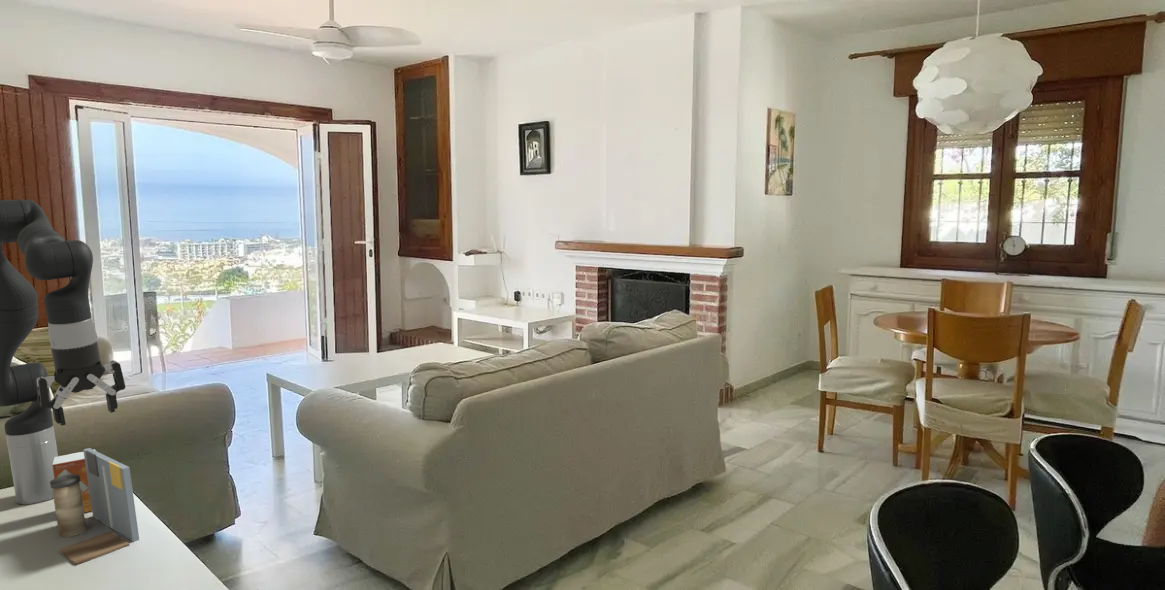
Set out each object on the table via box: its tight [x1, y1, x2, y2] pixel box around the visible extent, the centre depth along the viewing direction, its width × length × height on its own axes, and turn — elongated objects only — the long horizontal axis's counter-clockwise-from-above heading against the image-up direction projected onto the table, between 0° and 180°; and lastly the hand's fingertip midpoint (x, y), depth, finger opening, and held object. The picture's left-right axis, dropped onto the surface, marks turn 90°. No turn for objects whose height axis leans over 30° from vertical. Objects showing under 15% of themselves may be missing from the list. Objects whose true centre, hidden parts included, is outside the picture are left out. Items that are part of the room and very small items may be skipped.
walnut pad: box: [57, 530, 130, 566], centre depth 146 cm, size 10×10×1 cm
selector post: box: [50, 474, 87, 538], centre depth 153 cm, size 5×5×12 cm
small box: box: [53, 449, 97, 514], centre depth 164 cm, size 8×6×13 cm
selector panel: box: [82, 447, 140, 543], centre depth 154 cm, size 22×2×16 cm, turn 53°
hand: (87, 417), depth 143 cm, fingers open, 8 cm apart
